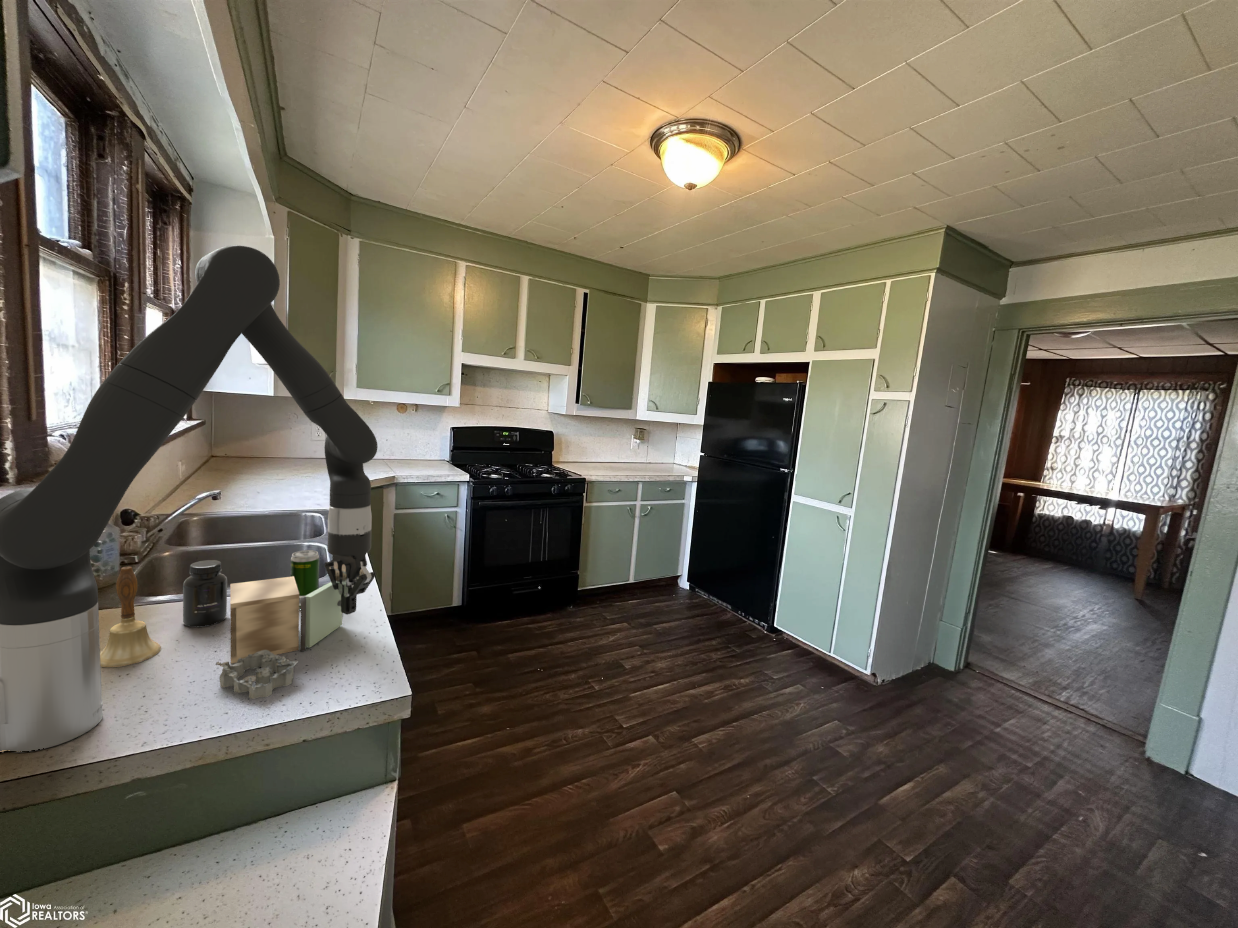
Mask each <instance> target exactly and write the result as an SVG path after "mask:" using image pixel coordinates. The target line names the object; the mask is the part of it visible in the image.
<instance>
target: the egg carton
mask: <svg viewBox="0 0 1238 928" xmlns="http://www.w3.org/2000/svg"><path fill="white" fill-rule="evenodd" d="M298 662H299V660H298V661H295V660H289V659H288V658H287V659H286V657H285V656H281V655H279V654H277V655H275V654H273V653H271V652H270V651H268V650H262V651H258V652H256V653H254V654H249V655H248V656H247V657H246V658H243V659H242V658H239V659H238V661H237V663H233V664H231V663H230V662H229V661H225V662H220V661H216V663H215V666H220V667H221V668H222V670H221V671H222V672H221V673H220V674H219V679H218V680H219V685H220V687H221V688H224V689H225V688H228V687H233V692H234V693H239V694H241V693H245V692H249V694H248V698H249V699H253V700H256V699H258V698H268V697H270V696H272V695H273V690H274V689H276V688H280V687H288V686H289V685H290V686H291V684H293V679H294V677H295V676H294V667H295V665H297V663H298ZM260 667H261V668H260ZM248 669H255V670H254V671H255V672H254V673H255V674H254V675H248V676H245V677H243V678H242V679H240V680H239V679H238V678H239V677H242V676H243V675H244V674H245V671H247V670H248ZM274 672H275V673H274ZM254 682H255V686H254V685H253V683H254Z"/></svg>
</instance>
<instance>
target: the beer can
mask: <svg viewBox="0 0 1238 928" xmlns="http://www.w3.org/2000/svg"><path fill="white" fill-rule="evenodd" d="M292 576H294V578H295V581H296V585H297V588H298V591H299V609H301V597H303V596H306V595H308V594H310V593H312V592H313V591H315V590H317V589H319V588H320V586H319V585H320V582H319V581H320V555H319V552H318V550H317V551H316V550H313V549H309V550H308V549H307V550H306V549H305V550H299V551H295V552H292V554H291V558H290V576H289V577H292Z"/></svg>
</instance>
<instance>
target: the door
mask: <svg viewBox="0 0 1238 928" xmlns="http://www.w3.org/2000/svg"><path fill="white" fill-rule="evenodd" d="M305 597H306V635H305V648H307V649H308V648H312V647H313V646H314V645H316V644H317V643H319V642H320V641H322V640H323V639H324V638H325V637H327V636H329V634H331V633H333V632H334V631H335V630H337V629H338V628H340V627H341V626H343V613H342V612H341V595H340V594H339V590H338V589H336V590H335V589H334V588H333V585H332V583H331V581H330V582H328V583H325V584H324V585H323V586H321V587H319V589H317V590H315V591H313V592H312V593H310V594H308V595H306V596H305Z"/></svg>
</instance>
